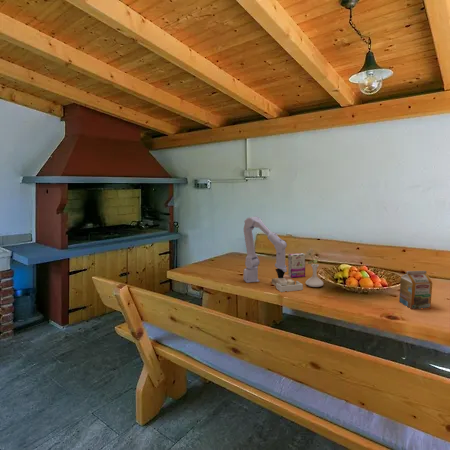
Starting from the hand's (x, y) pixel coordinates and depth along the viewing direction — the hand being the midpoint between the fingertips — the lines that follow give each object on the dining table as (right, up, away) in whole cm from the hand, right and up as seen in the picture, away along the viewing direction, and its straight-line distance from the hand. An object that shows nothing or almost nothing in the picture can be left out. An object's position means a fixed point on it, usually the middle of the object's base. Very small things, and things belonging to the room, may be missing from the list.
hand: (280, 280), depth 209 cm
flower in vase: (+21, -4, 0) cm, 22 cm away
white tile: (+1, -1, -3) cm, 3 cm away
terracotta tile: (+4, 0, +6) cm, 7 cm away
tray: (+4, -5, -6) cm, 8 cm away
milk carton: (+66, -8, -35) cm, 75 cm away
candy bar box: (+15, -1, +20) cm, 25 cm away
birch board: (+2, -4, +3) cm, 5 cm away
